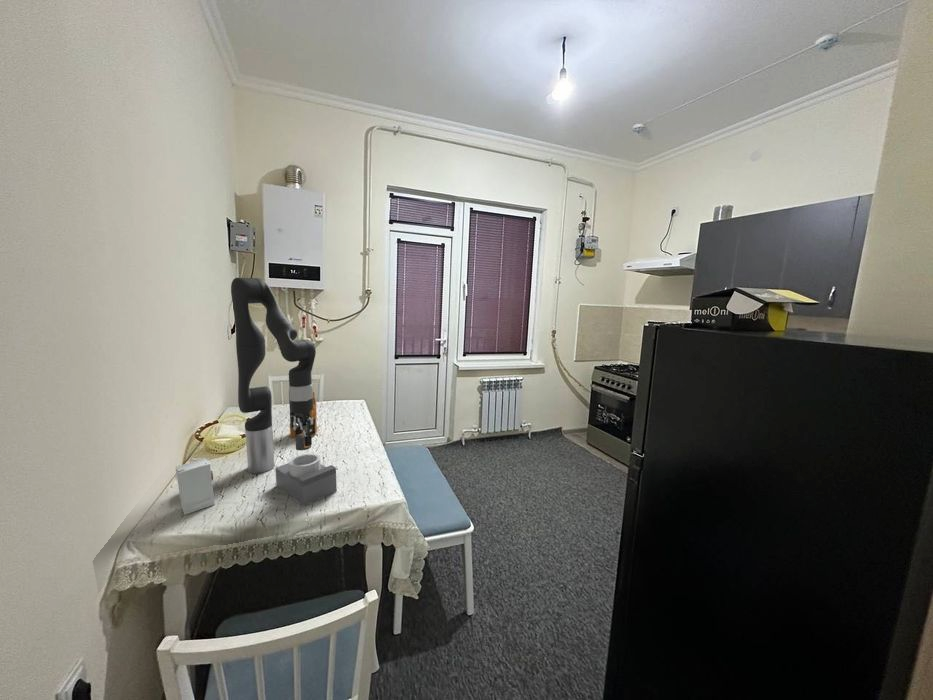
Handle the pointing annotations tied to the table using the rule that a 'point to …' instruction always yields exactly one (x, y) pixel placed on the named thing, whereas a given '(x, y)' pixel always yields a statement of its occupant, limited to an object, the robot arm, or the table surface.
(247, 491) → the table surface
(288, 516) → the table surface
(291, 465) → the camera body
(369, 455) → the table surface
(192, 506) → the skincare box
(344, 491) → the table surface
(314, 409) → the coffee package
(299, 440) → the grey dome
